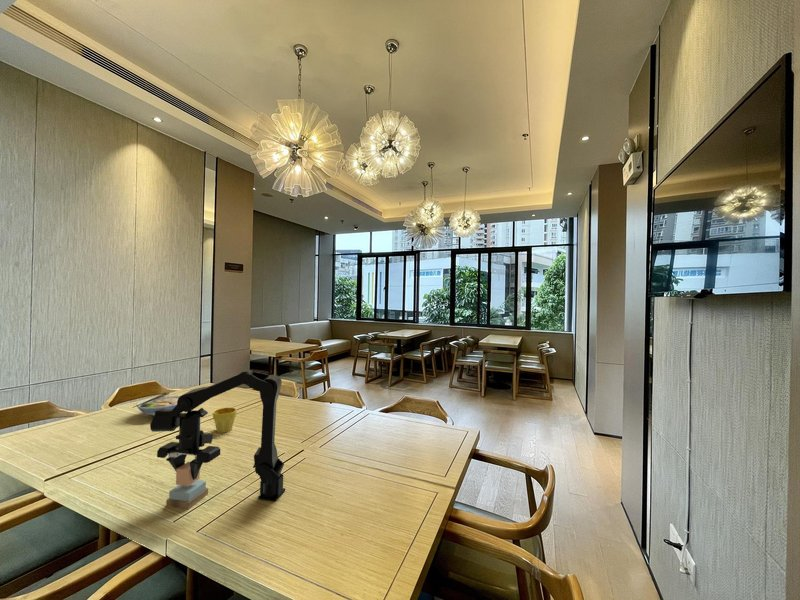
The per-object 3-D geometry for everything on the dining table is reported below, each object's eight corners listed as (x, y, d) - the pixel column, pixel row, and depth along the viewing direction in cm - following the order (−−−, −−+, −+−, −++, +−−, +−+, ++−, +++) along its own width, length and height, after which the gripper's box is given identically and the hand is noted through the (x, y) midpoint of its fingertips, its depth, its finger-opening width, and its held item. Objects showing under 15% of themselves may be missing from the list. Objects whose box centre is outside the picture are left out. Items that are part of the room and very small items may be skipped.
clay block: (199, 478, 106) (199, 463, 106) (188, 486, 101) (188, 470, 101) (187, 477, 107) (187, 461, 107) (175, 484, 102) (176, 468, 102)
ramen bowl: (165, 423, 166) (166, 407, 166) (122, 421, 167) (122, 406, 167) (196, 407, 191) (197, 393, 191) (159, 406, 192) (159, 392, 192)
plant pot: (223, 435, 153) (224, 415, 153) (207, 432, 156) (208, 412, 156) (240, 428, 163) (241, 408, 163) (225, 425, 166) (225, 406, 166)
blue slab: (205, 488, 107) (205, 481, 107) (189, 501, 100) (189, 493, 100) (186, 486, 108) (187, 479, 108) (169, 499, 101) (169, 491, 101)
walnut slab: (207, 495, 107) (208, 488, 107) (188, 510, 99) (189, 502, 99) (186, 492, 109) (186, 485, 109) (166, 507, 101) (166, 499, 101)
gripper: (232, 423, 111) (231, 468, 111) (184, 418, 114) (183, 463, 113) (208, 436, 100) (206, 486, 100) (156, 431, 103) (154, 480, 102)
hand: (188, 478), depth 104 cm, fingers closed on clay block, 4 cm apart
